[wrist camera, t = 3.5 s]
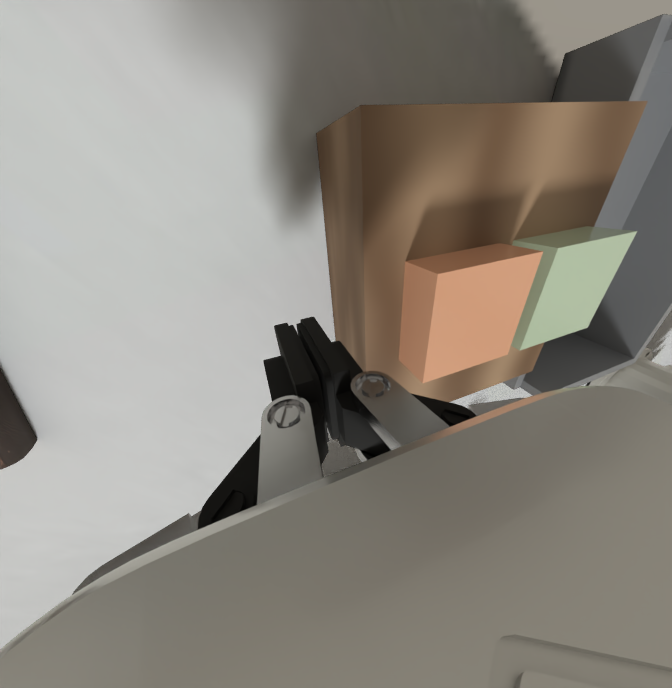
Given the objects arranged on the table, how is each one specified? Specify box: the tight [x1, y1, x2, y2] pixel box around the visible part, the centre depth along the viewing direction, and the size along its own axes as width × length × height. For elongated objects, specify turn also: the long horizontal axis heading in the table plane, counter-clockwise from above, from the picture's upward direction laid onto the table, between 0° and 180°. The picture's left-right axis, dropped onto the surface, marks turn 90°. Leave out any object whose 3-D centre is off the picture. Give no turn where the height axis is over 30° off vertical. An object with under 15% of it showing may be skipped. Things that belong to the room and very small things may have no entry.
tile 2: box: [399, 243, 543, 383], centre depth 13 cm, size 6×6×2 cm
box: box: [503, 14, 672, 396], centre depth 19 cm, size 13×22×6 cm, turn 5°
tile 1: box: [511, 226, 637, 350], centre depth 14 cm, size 6×6×2 cm
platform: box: [316, 101, 648, 402], centre depth 16 cm, size 15×16×5 cm
